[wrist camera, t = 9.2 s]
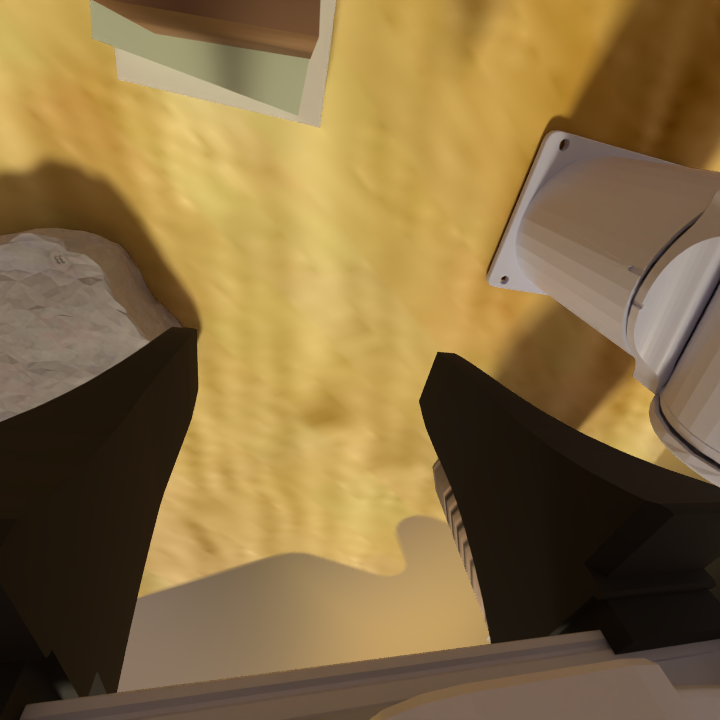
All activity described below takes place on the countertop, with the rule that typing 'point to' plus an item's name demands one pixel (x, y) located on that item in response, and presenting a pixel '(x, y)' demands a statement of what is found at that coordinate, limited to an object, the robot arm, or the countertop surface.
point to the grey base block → (184, 84)
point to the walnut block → (230, 22)
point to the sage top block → (209, 60)
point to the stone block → (68, 313)
